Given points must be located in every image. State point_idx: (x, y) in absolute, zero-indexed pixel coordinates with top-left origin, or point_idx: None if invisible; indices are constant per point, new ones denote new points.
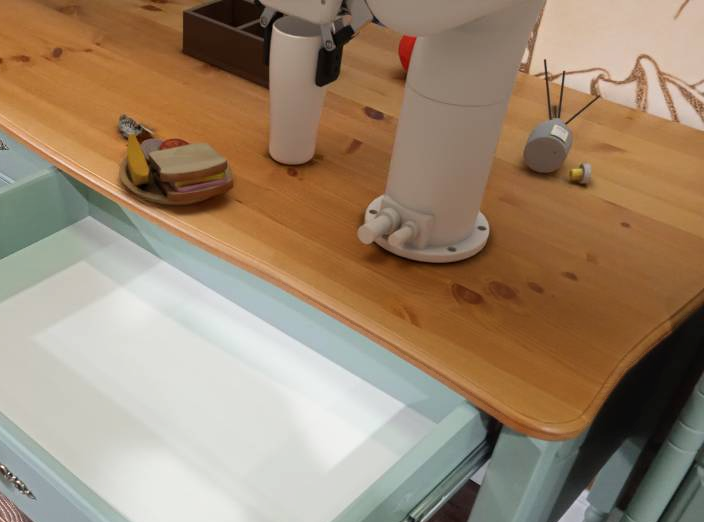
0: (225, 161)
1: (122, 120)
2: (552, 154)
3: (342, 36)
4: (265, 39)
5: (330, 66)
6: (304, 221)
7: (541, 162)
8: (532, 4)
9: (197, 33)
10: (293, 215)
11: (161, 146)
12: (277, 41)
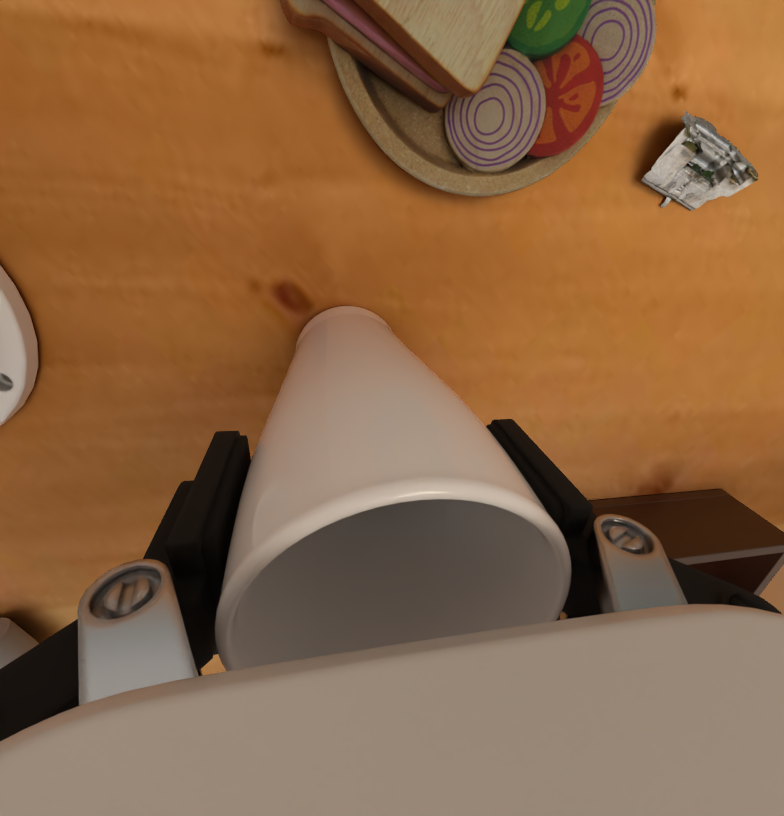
0: None
1: (745, 163)
2: None
3: (3, 699)
4: (554, 475)
5: (174, 512)
6: (62, 98)
7: None
8: None
9: (732, 522)
10: (111, 105)
11: (596, 58)
12: (451, 447)
